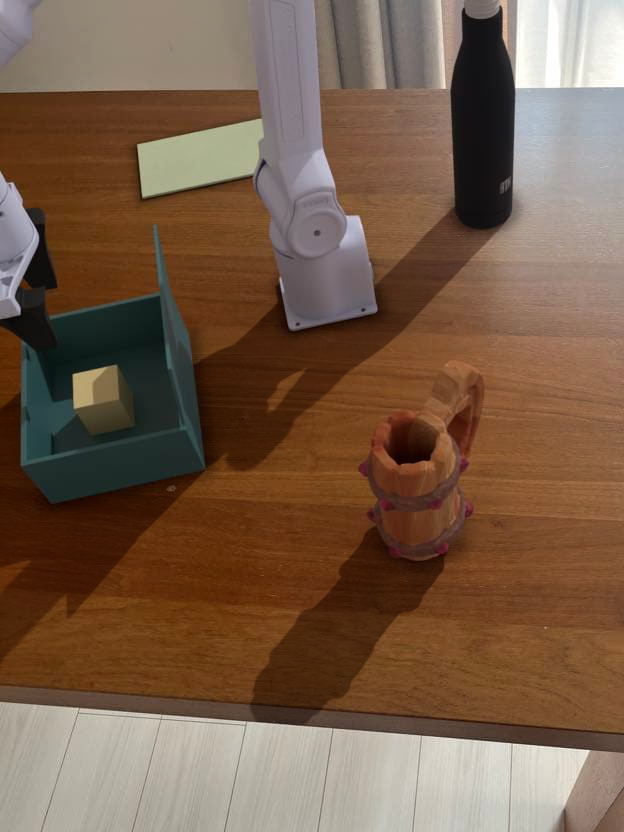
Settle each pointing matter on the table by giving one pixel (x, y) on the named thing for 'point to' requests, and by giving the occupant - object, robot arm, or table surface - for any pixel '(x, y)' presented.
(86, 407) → the block
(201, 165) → the placemat
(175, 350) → the flap
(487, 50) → the black insulated flask
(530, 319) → the table surface
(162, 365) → the carton
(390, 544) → the mug
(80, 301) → the table surface
